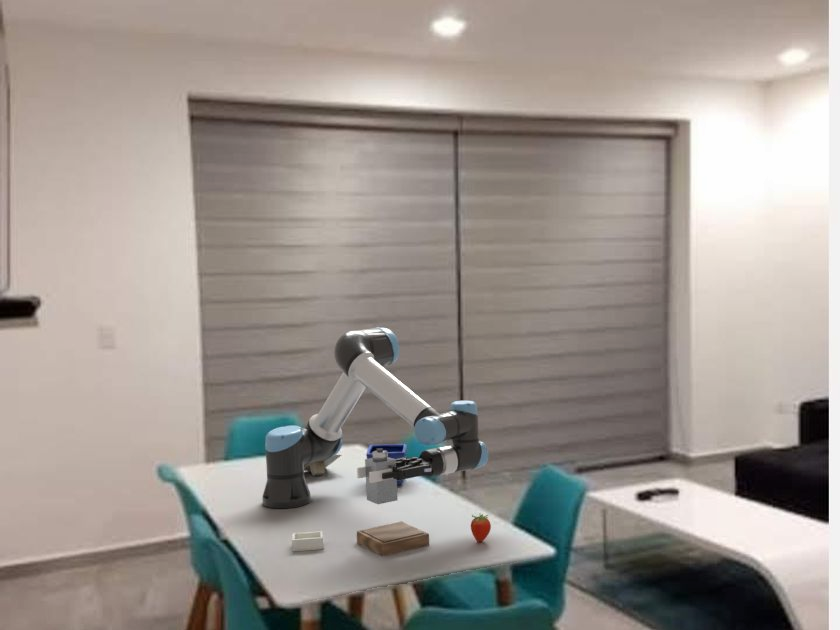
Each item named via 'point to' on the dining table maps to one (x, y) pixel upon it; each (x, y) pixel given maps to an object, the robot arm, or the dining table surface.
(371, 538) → the stand
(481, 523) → the fruit
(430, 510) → the dining table surface
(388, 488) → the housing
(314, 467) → the wall
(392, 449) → the flower pot
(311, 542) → the box
